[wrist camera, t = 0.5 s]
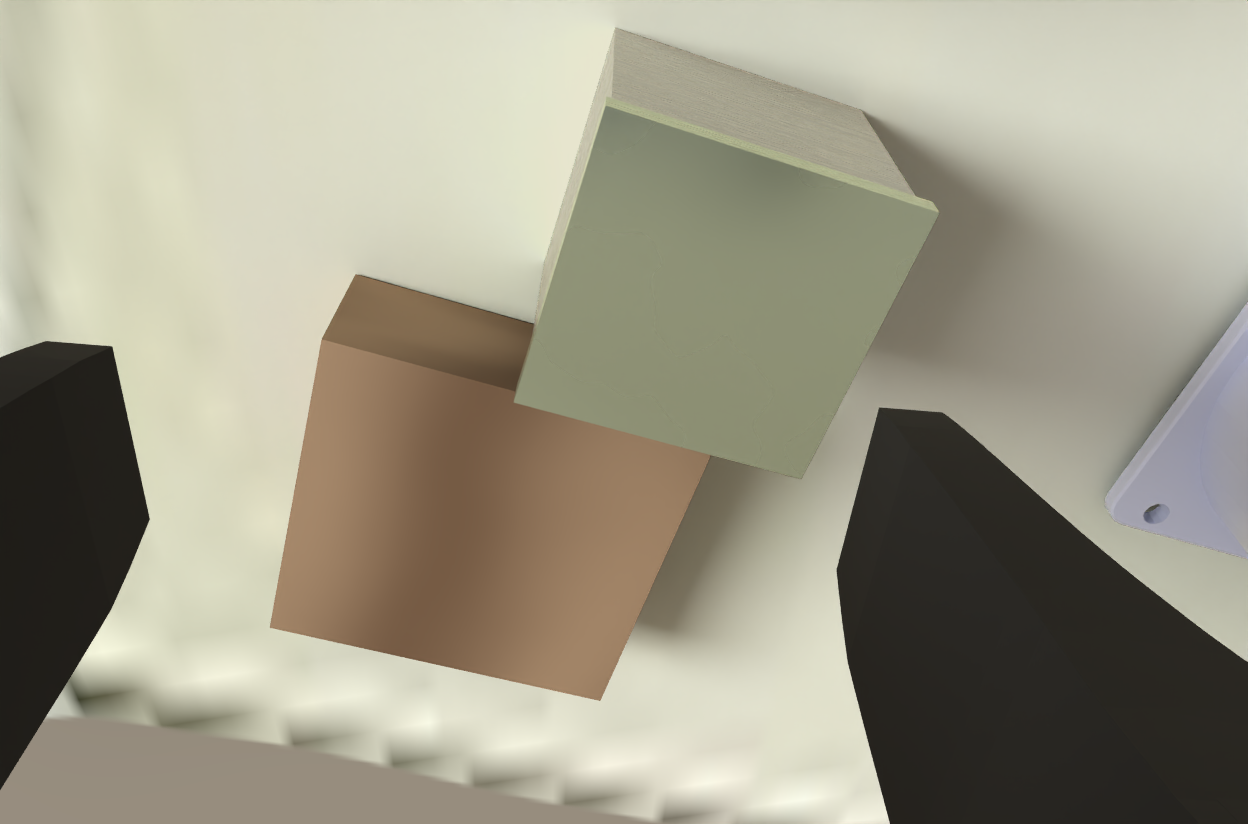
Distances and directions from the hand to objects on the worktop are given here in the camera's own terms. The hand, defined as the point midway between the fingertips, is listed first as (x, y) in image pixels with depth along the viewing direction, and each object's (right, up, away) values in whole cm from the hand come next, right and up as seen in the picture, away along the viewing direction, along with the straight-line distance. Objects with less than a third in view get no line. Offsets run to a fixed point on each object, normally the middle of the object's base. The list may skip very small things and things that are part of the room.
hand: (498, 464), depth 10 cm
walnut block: (-2, -1, +12) cm, 12 cm away
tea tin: (+2, +5, +8) cm, 10 cm away
